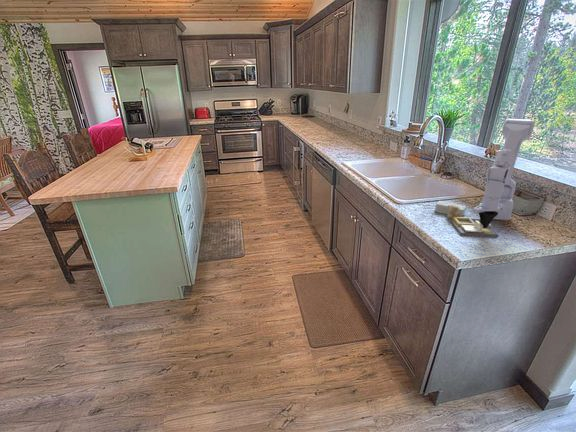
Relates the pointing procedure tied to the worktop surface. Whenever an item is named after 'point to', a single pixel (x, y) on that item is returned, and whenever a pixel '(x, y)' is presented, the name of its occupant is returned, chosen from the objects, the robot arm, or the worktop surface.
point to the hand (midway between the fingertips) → (483, 227)
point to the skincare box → (444, 208)
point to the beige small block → (453, 211)
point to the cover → (473, 227)
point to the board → (471, 221)
